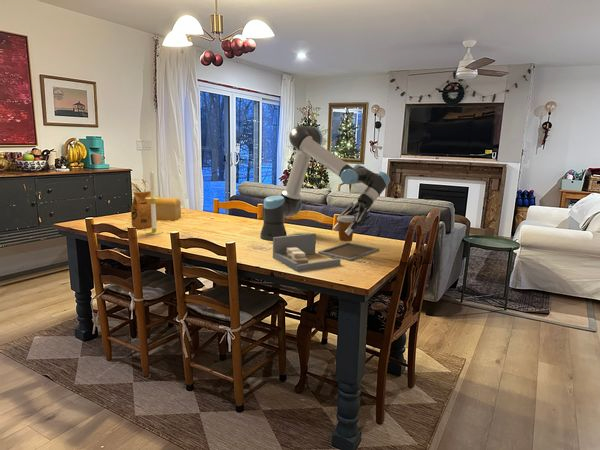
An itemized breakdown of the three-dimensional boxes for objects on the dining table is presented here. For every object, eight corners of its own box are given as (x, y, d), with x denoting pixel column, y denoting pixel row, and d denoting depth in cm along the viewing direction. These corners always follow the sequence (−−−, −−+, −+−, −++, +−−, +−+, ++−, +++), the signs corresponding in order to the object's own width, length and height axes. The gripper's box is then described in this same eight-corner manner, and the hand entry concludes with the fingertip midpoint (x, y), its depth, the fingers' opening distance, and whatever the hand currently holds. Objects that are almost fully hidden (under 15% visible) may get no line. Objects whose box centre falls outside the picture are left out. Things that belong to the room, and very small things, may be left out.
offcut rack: (272, 257, 199) (273, 237, 197) (313, 252, 210) (314, 233, 208) (296, 271, 180) (297, 248, 178) (340, 264, 191) (341, 243, 189)
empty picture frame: (379, 248, 218) (347, 260, 195) (378, 251, 218) (347, 263, 195) (348, 242, 230) (314, 252, 207) (348, 245, 230) (314, 255, 207)
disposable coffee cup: (332, 238, 211) (333, 215, 209) (349, 237, 215) (350, 214, 212) (341, 243, 202) (342, 218, 200) (358, 241, 206) (359, 217, 203)
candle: (167, 231, 246) (164, 167, 238) (154, 235, 237) (151, 168, 229) (154, 229, 250) (152, 166, 243) (141, 232, 242) (138, 167, 234)
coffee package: (129, 226, 256) (127, 191, 252) (149, 224, 265) (147, 189, 261) (137, 229, 250) (135, 193, 245) (156, 226, 258) (155, 191, 254)
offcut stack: (283, 258, 199) (283, 246, 198) (295, 257, 201) (295, 245, 200) (296, 269, 183) (297, 256, 182) (309, 268, 185) (309, 255, 184)
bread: (181, 217, 290) (180, 196, 287) (176, 221, 278) (175, 198, 275) (146, 216, 290) (145, 195, 287) (139, 220, 277) (138, 197, 274)
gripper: (386, 206, 203) (358, 241, 199) (358, 200, 222) (332, 232, 217) (378, 195, 200) (350, 231, 195) (350, 190, 218) (324, 222, 213)
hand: (340, 231), depth 206 cm, fingers closed on disposable coffee cup, 9 cm apart
